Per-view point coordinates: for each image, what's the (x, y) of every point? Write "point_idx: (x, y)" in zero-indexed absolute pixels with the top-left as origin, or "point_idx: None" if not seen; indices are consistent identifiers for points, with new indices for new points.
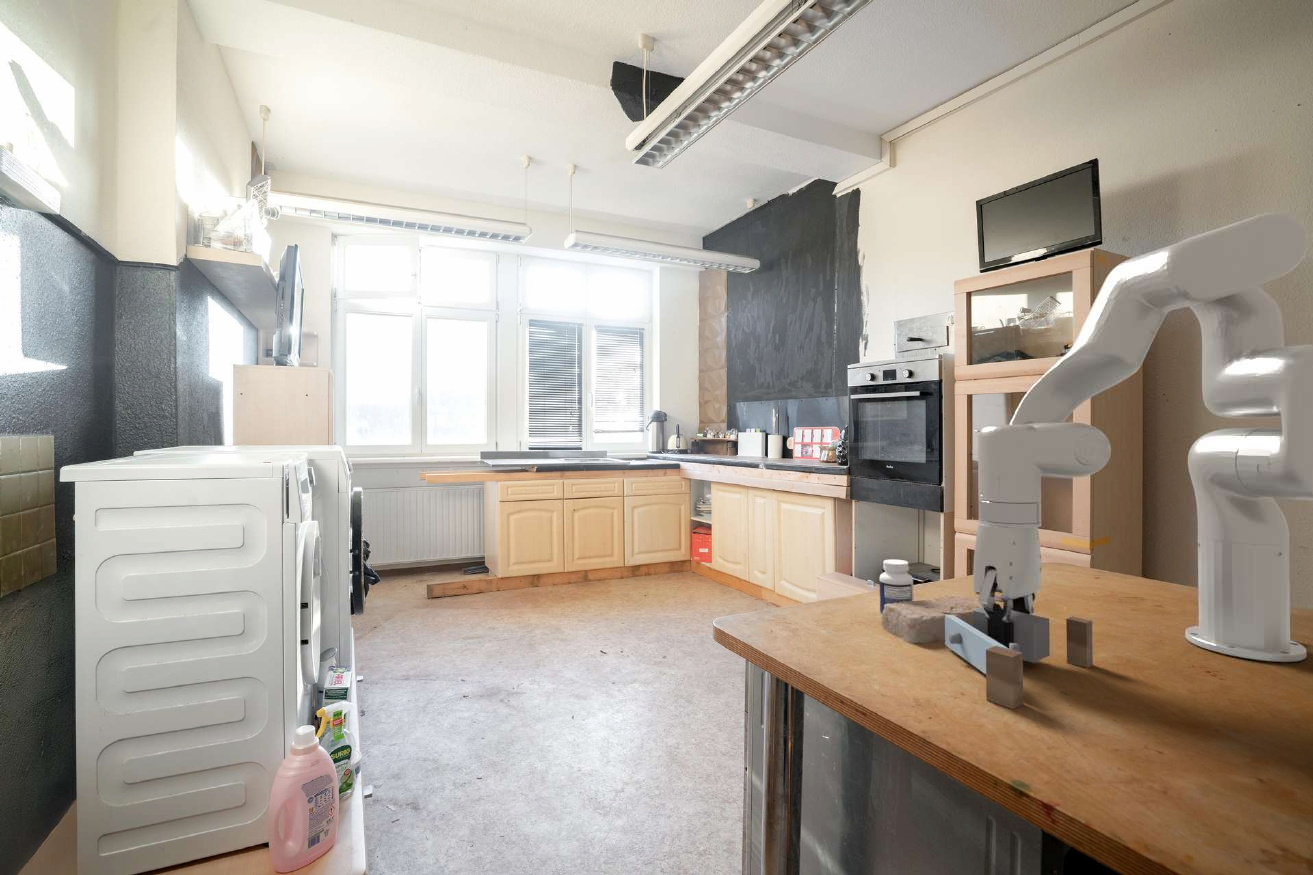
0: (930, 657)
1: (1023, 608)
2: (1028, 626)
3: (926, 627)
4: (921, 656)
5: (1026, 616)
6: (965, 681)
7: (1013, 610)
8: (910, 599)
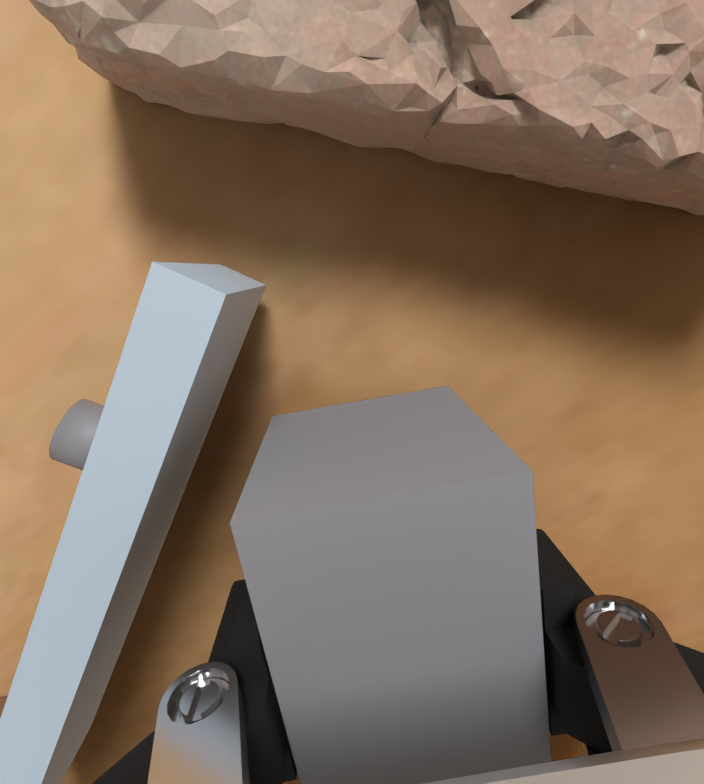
0: (57, 317)
1: (583, 733)
2: None
3: (185, 87)
4: (19, 285)
5: (472, 771)
6: (6, 576)
7: (550, 648)
8: None
